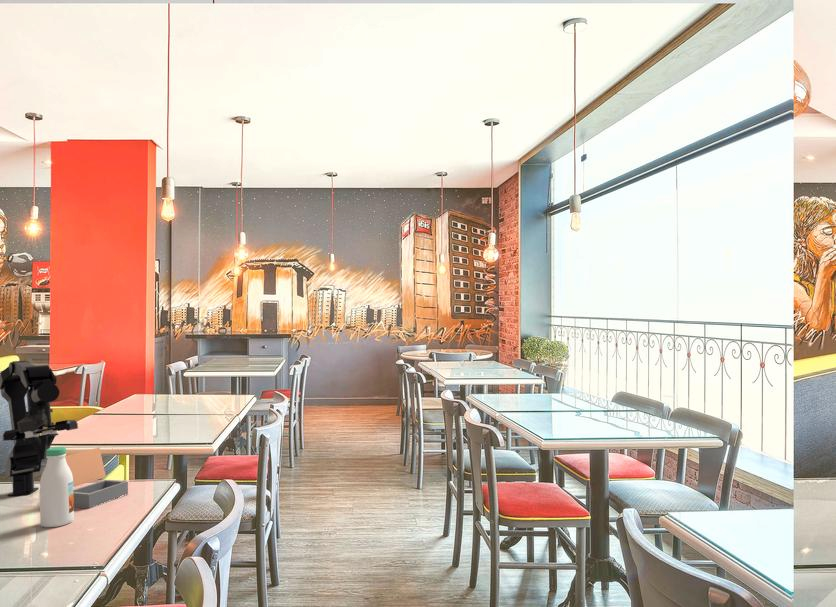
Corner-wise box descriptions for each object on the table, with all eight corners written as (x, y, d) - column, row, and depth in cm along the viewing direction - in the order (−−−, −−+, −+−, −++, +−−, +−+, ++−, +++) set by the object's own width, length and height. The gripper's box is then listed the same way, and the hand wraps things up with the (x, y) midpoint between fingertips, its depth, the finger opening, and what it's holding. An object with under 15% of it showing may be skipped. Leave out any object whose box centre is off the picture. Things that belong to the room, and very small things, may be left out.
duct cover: (66, 489, 177) (64, 489, 178) (106, 476, 190) (104, 477, 191) (59, 457, 178) (57, 457, 179) (99, 447, 192) (97, 447, 192)
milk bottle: (63, 527, 158) (61, 450, 158) (33, 528, 158) (32, 451, 158) (80, 518, 166) (78, 444, 166) (52, 518, 166) (50, 445, 166)
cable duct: (66, 506, 177) (66, 492, 177) (106, 492, 190) (105, 479, 190) (89, 508, 174) (89, 494, 174) (128, 494, 187) (127, 481, 187)
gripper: (-11, 412, 172) (-7, 468, 170) (58, 400, 175) (63, 455, 172) (11, 412, 183) (15, 464, 181) (76, 401, 186) (80, 452, 183)
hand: (43, 459), depth 179 cm, fingers closed
